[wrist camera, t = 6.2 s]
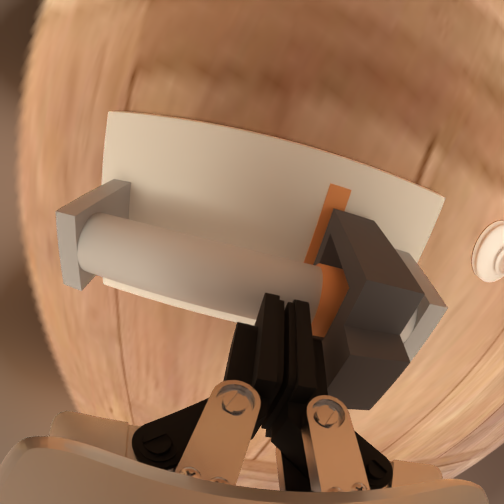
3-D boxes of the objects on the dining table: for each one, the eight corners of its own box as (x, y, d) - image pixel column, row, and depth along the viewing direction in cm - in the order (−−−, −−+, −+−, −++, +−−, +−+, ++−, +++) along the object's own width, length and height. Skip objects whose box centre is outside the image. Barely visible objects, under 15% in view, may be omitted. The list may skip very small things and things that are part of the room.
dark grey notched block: (295, 310, 18) (297, 427, 10) (333, 208, 15) (378, 307, 7) (331, 317, 18) (348, 431, 10) (374, 220, 15) (440, 319, 7)
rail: (109, 276, 20) (62, 334, 14) (117, 110, 14) (41, 120, 9) (365, 339, 20) (383, 410, 15) (437, 193, 15) (501, 238, 9)
